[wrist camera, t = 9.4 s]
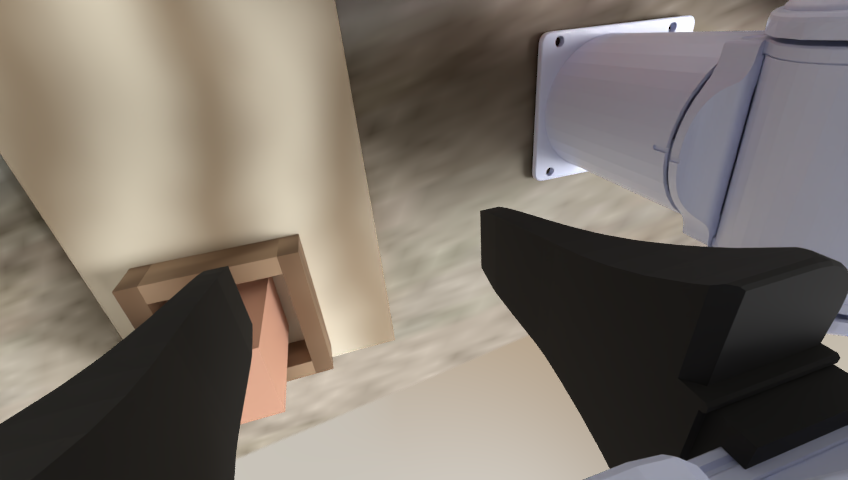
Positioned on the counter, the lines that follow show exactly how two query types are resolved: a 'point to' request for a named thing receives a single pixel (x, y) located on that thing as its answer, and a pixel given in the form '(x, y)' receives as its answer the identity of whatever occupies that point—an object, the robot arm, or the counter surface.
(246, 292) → the block
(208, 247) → the board
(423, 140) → the counter surface
